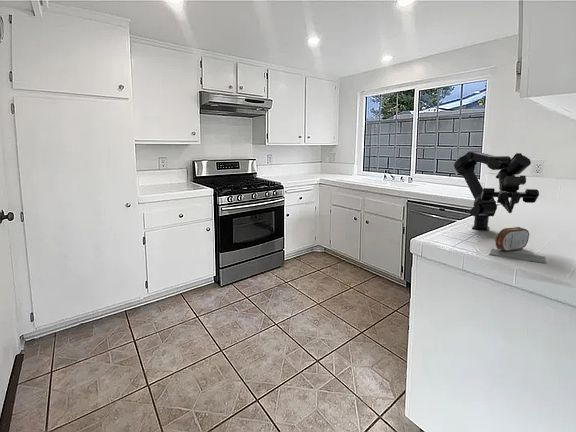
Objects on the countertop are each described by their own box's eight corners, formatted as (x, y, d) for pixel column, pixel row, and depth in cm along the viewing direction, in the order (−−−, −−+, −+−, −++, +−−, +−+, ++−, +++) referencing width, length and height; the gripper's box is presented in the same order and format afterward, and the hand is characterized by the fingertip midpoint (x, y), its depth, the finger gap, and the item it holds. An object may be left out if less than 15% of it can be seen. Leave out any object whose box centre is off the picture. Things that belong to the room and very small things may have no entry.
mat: (491, 249, 123) (492, 248, 123) (545, 257, 114) (545, 256, 114) (489, 254, 117) (489, 254, 117) (545, 263, 108) (545, 262, 108)
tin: (520, 246, 126) (523, 225, 124) (529, 249, 123) (532, 227, 121) (493, 250, 120) (496, 228, 119) (501, 253, 117) (504, 230, 116)
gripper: (485, 168, 131) (486, 199, 124) (541, 168, 124) (546, 201, 116) (480, 185, 140) (481, 215, 132) (532, 186, 133) (536, 218, 125)
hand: (510, 212), depth 126 cm, fingers closed
